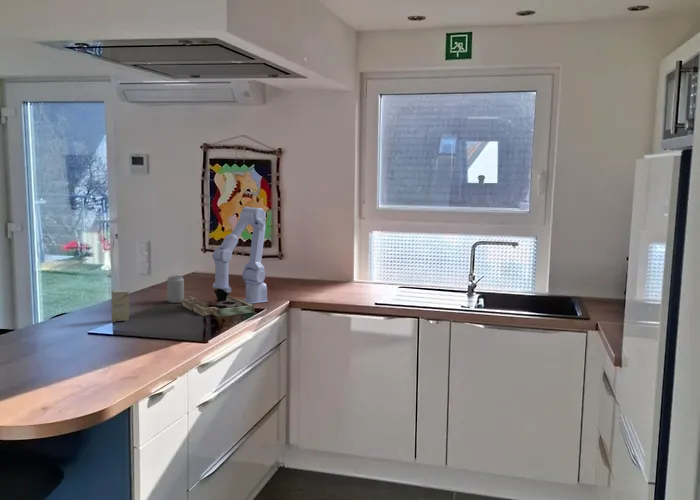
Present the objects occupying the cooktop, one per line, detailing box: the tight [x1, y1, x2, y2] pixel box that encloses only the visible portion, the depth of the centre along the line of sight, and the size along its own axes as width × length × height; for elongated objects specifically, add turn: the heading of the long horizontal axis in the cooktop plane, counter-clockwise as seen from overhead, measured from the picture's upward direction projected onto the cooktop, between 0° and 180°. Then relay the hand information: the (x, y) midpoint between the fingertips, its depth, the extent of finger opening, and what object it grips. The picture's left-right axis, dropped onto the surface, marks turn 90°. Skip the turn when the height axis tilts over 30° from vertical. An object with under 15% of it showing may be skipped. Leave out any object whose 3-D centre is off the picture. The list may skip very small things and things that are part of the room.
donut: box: [214, 301, 242, 309], centre depth 274 cm, size 12×12×4 cm
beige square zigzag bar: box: [182, 294, 255, 318], centre depth 279 cm, size 22×31×3 cm
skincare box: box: [111, 289, 130, 323], centre depth 251 cm, size 6×4×12 cm
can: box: [166, 274, 185, 304], centre depth 288 cm, size 8×8×12 cm
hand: (221, 305), depth 279 cm, fingers closed
